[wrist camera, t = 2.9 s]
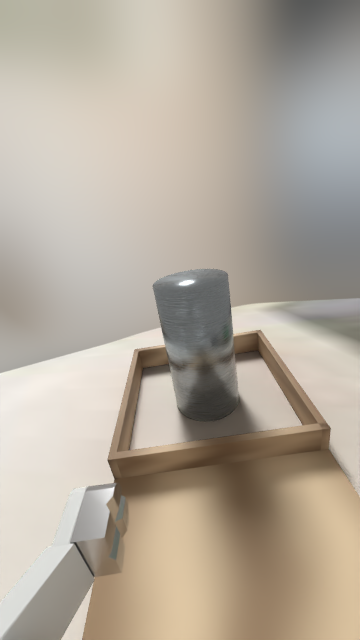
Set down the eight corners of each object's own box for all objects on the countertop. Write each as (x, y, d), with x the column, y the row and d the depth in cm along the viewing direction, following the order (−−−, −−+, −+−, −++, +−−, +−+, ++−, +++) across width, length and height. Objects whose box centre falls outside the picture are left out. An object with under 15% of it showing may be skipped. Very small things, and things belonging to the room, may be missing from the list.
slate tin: (177, 425, 22) (150, 297, 17) (176, 383, 27) (154, 276, 22) (245, 415, 21) (235, 283, 17) (231, 375, 26) (220, 265, 22)
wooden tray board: (-24, 1203, 5) (-91, 1262, 4) (139, 366, 31) (134, 349, 30) (777, 1164, 5) (894, 1220, 4) (261, 347, 30) (260, 329, 29)
